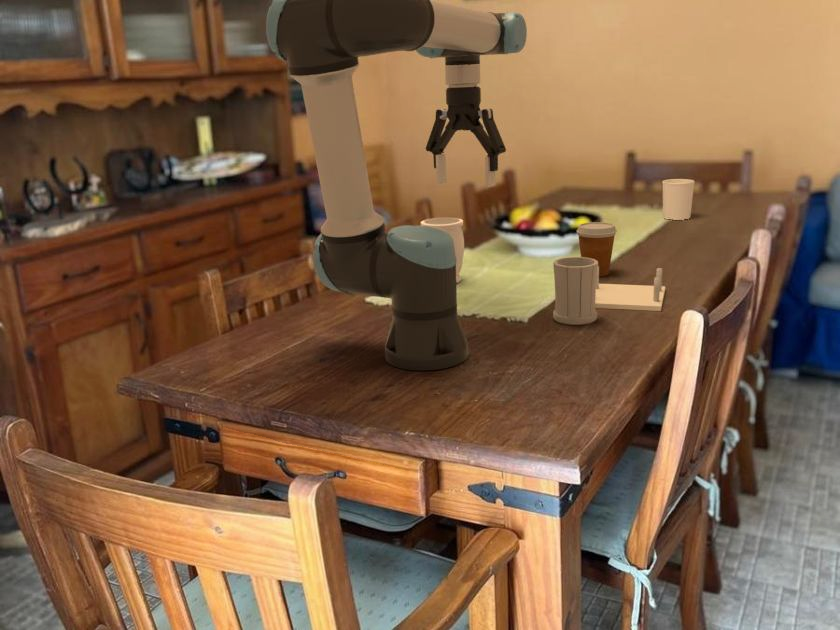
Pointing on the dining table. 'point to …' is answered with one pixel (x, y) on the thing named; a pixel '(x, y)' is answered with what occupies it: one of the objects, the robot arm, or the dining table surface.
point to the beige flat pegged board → (630, 295)
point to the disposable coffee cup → (597, 243)
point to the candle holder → (677, 198)
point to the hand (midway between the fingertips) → (465, 185)
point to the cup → (575, 290)
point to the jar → (455, 231)
